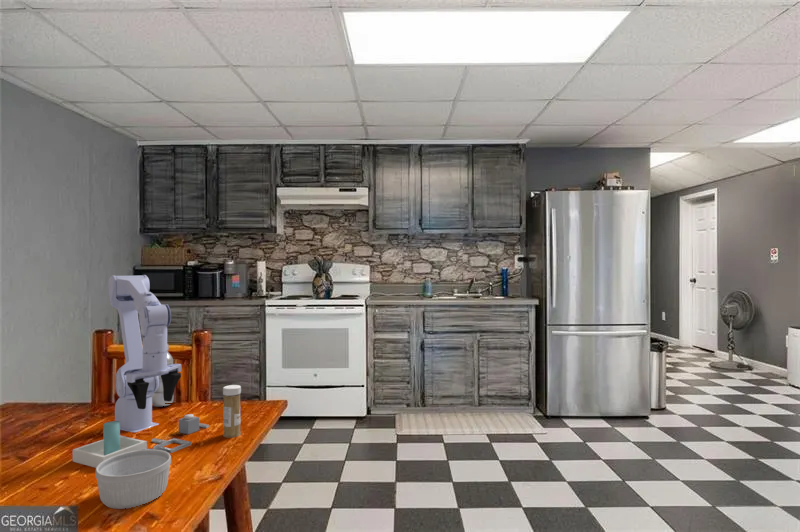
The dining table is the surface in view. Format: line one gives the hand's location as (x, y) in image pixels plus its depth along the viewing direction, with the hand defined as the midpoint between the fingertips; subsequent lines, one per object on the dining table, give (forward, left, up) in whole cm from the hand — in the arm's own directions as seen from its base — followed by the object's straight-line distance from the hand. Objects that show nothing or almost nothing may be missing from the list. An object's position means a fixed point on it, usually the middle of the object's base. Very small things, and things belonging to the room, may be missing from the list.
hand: (155, 404), depth 127 cm
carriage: (+2, +9, -9) cm, 13 cm away
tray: (-1, -11, -10) cm, 15 cm away
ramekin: (+22, -22, -10) cm, 33 cm away
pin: (-1, -11, -9) cm, 14 cm away
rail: (+2, +6, -10) cm, 12 cm away
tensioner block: (+8, -5, -10) cm, 13 cm away
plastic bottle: (-26, +24, -10) cm, 37 cm away
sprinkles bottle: (+15, +12, -10) cm, 21 cm away
